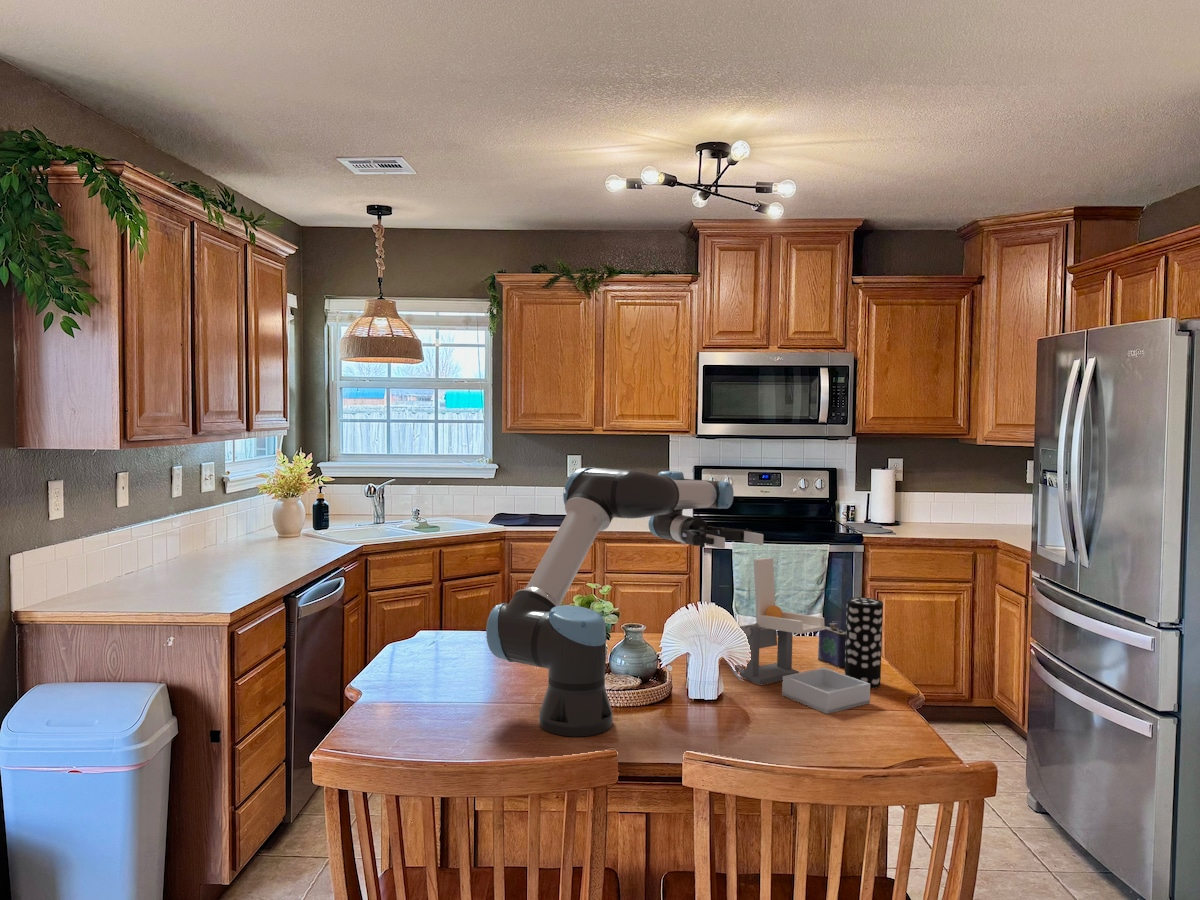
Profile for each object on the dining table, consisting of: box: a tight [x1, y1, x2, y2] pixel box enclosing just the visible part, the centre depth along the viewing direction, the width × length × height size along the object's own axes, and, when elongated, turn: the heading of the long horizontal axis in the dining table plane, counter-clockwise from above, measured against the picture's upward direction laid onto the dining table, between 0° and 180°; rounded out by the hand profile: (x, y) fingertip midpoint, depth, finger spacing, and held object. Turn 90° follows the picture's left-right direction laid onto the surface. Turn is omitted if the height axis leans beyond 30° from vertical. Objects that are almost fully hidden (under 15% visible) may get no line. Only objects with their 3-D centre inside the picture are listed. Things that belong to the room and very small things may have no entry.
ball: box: [766, 605, 783, 618], centre depth 205 cm, size 4×4×4 cm
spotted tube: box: [844, 596, 884, 689], centre depth 203 cm, size 8×8×20 cm
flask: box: [817, 622, 846, 669], centre depth 219 cm, size 9×3×11 cm, turn 28°
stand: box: [738, 624, 800, 686], centre depth 207 cm, size 8×15×13 cm, turn 122°
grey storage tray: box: [781, 667, 871, 715], centre depth 191 cm, size 14×14×4 cm
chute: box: [740, 557, 826, 649], centre depth 204 cm, size 21×8×22 cm, turn 32°
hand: (743, 541), depth 214 cm, fingers open, 12 cm apart
